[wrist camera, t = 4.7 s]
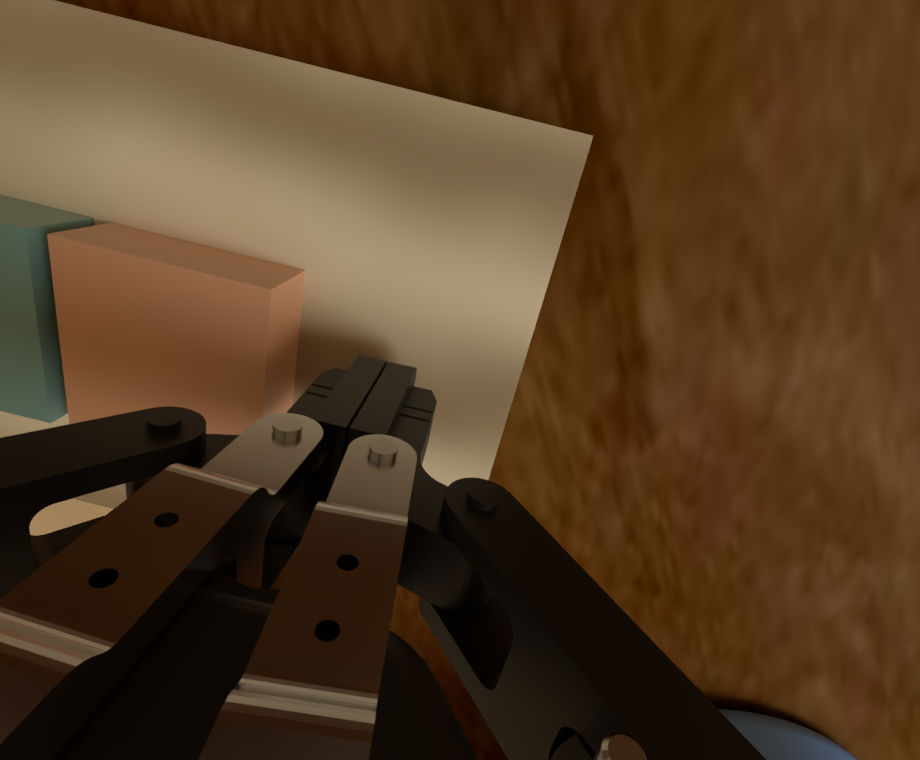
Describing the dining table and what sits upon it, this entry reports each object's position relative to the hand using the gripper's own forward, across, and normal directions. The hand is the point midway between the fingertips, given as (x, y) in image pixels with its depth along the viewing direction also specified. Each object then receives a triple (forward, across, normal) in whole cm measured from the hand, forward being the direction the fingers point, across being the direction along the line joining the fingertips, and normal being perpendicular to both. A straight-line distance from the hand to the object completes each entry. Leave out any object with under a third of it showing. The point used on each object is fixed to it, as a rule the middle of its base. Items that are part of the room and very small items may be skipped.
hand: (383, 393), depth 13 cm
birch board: (+4, +6, 0) cm, 7 cm away
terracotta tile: (+1, +5, 0) cm, 5 cm away
